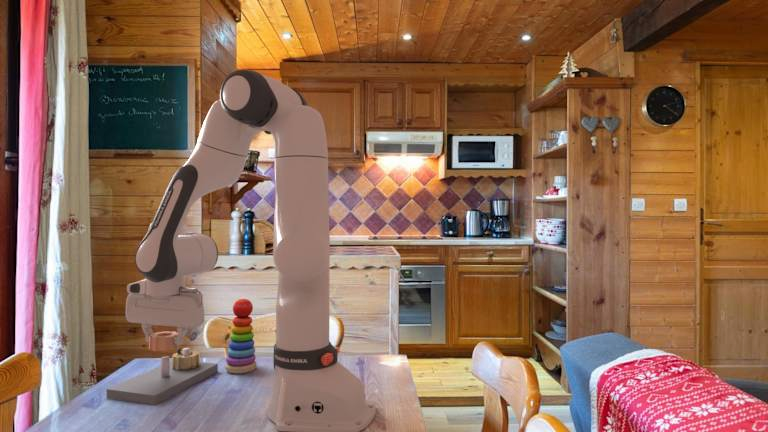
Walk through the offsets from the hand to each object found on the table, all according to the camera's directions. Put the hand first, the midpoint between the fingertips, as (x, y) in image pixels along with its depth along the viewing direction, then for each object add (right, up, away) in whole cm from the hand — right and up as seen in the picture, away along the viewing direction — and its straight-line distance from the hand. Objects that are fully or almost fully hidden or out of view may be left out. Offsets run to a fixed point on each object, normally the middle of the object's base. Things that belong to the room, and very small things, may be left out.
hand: (164, 343), depth 111 cm
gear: (+2, -8, +7) cm, 11 cm away
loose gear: (0, -1, 0) cm, 1 cm away
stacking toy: (+15, -10, +11) cm, 21 cm away
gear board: (0, -10, 0) cm, 10 cm away
